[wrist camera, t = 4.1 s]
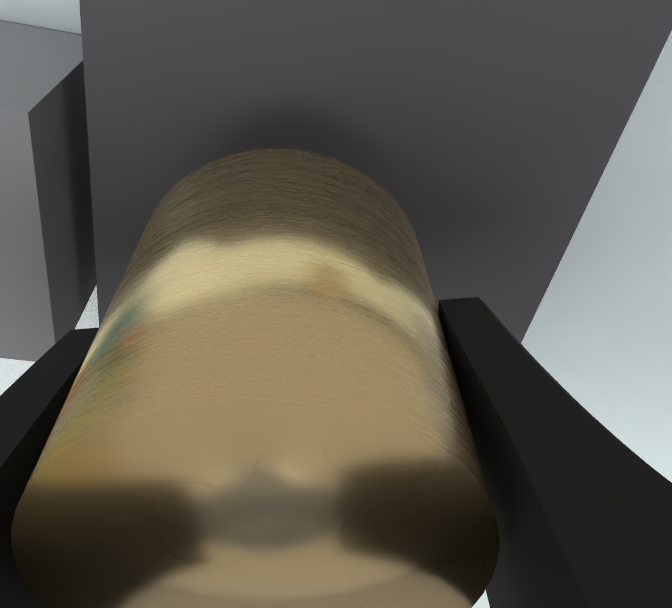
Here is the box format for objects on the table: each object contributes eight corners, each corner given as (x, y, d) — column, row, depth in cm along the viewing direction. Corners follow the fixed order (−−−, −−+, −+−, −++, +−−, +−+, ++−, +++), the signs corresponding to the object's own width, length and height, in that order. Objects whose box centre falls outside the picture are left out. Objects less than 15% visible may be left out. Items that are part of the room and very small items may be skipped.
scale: (664, -99, 13) (815, -74, 9) (450, 406, 23) (479, 526, 19) (-101, -281, 11) (-329, -349, 7) (12, 359, 21) (-59, 483, 17)
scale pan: (680, -65, 12) (713, -57, 11) (451, 442, 21) (458, 472, 20) (89, -201, 10) (67, -206, 9) (116, 409, 19) (106, 439, 18)
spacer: (415, 379, 12) (473, 668, 8) (169, 390, 12) (88, 688, 8) (430, 141, 9) (536, 387, 5) (107, 155, 9) (-78, 415, 5)
